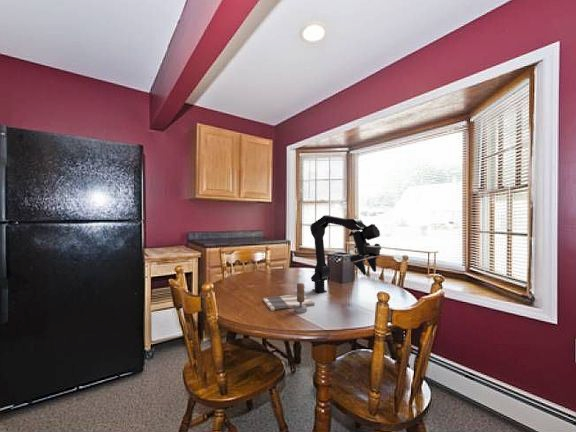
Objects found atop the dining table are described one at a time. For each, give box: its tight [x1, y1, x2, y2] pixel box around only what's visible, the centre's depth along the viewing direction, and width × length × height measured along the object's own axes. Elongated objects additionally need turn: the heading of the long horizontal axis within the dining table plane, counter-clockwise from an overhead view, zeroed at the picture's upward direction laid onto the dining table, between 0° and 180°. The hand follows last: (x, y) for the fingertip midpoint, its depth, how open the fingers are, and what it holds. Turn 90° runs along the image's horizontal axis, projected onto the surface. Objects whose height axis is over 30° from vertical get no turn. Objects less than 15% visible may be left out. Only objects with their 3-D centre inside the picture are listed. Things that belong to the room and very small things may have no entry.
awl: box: [294, 282, 308, 314], centre depth 130 cm, size 6×6×12 cm
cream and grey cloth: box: [262, 293, 315, 312], centre depth 142 cm, size 16×22×1 cm
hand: (370, 273), depth 138 cm, fingers open, 9 cm apart
